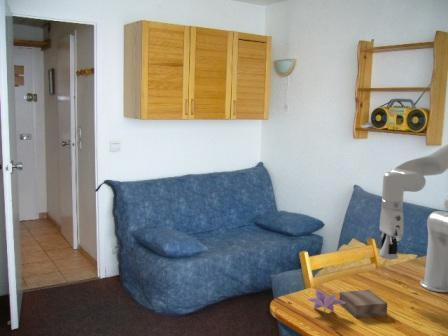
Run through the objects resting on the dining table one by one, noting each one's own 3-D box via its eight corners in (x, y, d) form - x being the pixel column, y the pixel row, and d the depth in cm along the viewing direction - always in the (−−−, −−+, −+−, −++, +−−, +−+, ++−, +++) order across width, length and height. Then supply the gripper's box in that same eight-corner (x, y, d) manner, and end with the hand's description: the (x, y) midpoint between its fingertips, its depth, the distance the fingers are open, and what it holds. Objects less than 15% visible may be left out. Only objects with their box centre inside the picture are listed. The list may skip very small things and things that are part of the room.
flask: (395, 254, 183) (397, 229, 181) (400, 260, 175) (402, 234, 174) (376, 253, 183) (378, 228, 182) (380, 259, 176) (382, 233, 175)
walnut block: (367, 302, 177) (368, 289, 176) (386, 316, 165) (387, 303, 164) (339, 304, 174) (340, 291, 173) (355, 319, 162) (356, 305, 161)
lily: (349, 321, 162) (347, 292, 166) (334, 318, 154) (332, 288, 157) (318, 321, 169) (317, 294, 173) (301, 319, 161) (301, 290, 165)
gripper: (413, 210, 169) (410, 258, 171) (389, 199, 185) (386, 244, 188) (394, 210, 167) (391, 259, 170) (372, 200, 184) (369, 244, 187)
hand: (388, 250), depth 179 cm, fingers closed on flask, 4 cm apart
